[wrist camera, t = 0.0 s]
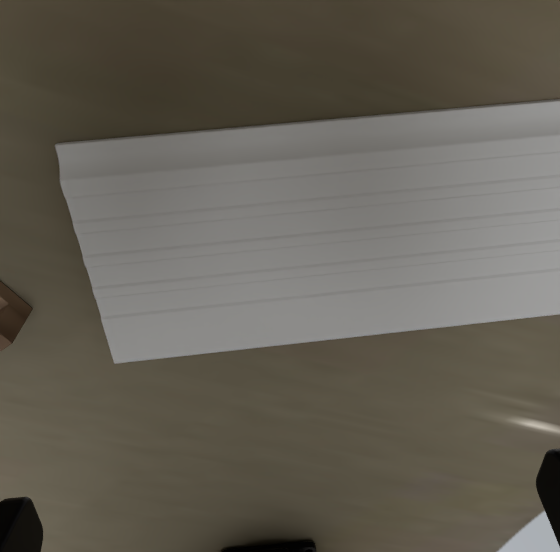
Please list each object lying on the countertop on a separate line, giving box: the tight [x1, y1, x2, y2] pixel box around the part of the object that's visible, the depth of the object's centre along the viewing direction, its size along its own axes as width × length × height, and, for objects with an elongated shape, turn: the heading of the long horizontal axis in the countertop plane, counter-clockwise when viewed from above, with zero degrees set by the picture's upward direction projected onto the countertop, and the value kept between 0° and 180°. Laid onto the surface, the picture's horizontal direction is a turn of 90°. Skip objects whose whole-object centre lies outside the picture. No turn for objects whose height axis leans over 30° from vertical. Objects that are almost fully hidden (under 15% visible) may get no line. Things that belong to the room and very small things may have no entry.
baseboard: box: [55, 99, 560, 364], centre depth 22 cm, size 31×3×12 cm
